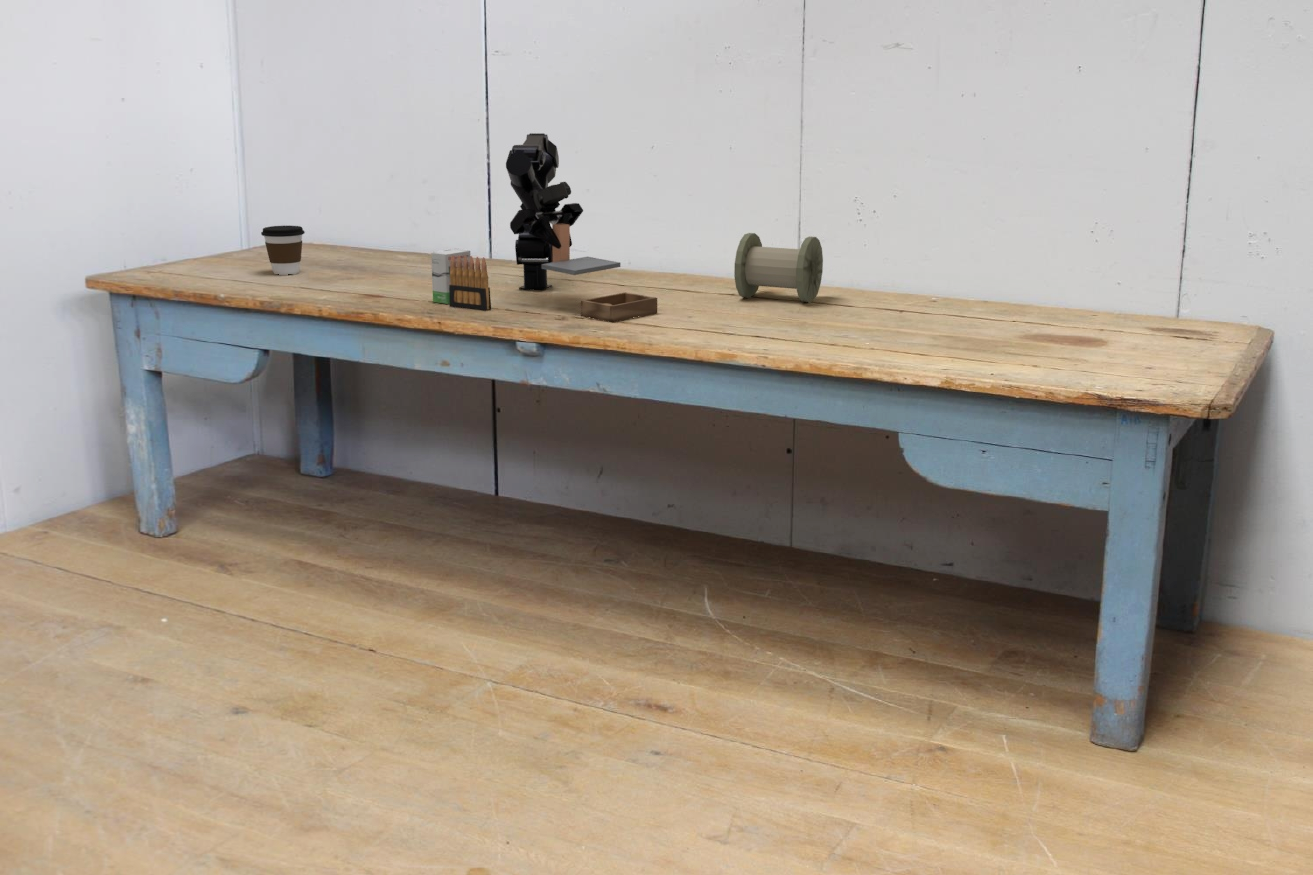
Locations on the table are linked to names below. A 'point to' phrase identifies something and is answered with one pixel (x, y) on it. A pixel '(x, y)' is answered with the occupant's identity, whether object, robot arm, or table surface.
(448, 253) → the ink box
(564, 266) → the lid
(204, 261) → the table surface
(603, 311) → the tub
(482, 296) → the ammunition clip
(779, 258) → the spool
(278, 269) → the coffee cup
